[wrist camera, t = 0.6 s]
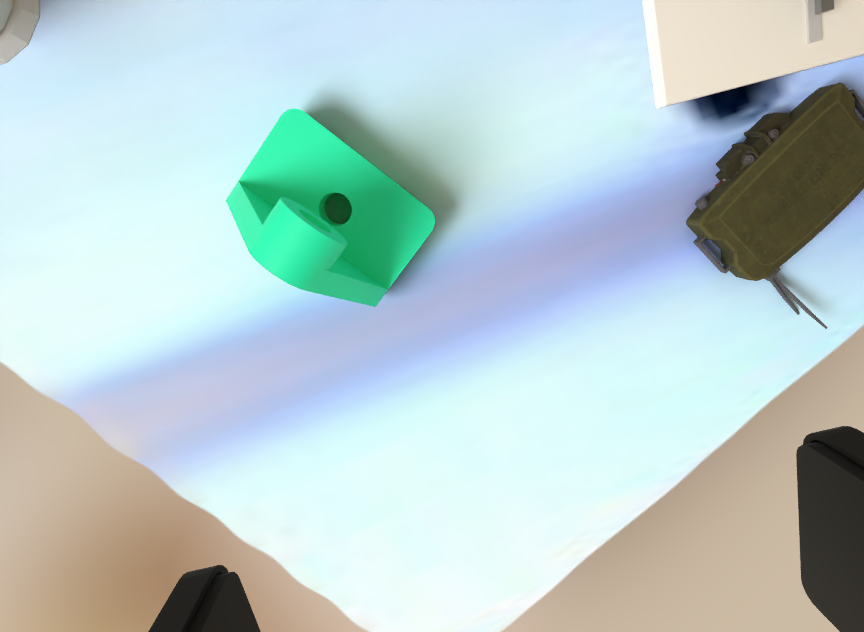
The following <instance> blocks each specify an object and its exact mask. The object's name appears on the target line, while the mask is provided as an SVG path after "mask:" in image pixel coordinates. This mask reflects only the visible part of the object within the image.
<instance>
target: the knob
mask: <svg viewBox="0 0 864 632" xmlns="http://www.w3.org/2000/svg"><path fill="white" fill-rule="evenodd" d="M833 9H834V0H815V15H818V14H821V13H825V12H829V11H831V10H833Z"/></svg>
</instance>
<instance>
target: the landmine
mask: <svg viewBox="0 0 864 632" xmlns="http://www.w3.org/2000/svg"><path fill="white" fill-rule="evenodd" d="M855 107H856V109H857V110H858V111H859V112H860V114H861V115H862V116H863V118H864V103H863V102H862V100H861V99H860V98H859V96H858V95H857V94H856V92H855V91H854V90H848V89H847V88H846V86H845V85H844V84H842V83H838V84H834V85H830V86H826V87H822V88H819V89H818V90H816V91H815V92H814V93H812V94H811V95H810V96H808V97H807V98H806V99H805V100H804V101H803V102H802V103H801V104H799V105H798V106H797V107H796V108H795V109H794V110H793V111H792V112H790V113H789V114H787V113H773V114H768V115H764V116H763V117H762V118H761V119H760V120H759V121H758V122H757V123H756V124H755V125H754V126H753V127H752V128H751V129H750V130H749V131H748V132H745V133H744V135H745V136H746V137H747V139H746V140H745V141H744V142H743V143H740V144H733V145H732V148H731V149H730V150H729V151H728V152H727V153H726V154H725V155H724V156H723V157H722V158H721V159H720V160H719V161H718V162H717V163H716V165H717V166H718V167H719V169H720V171H719V172H718V173H717V174H716V177H717V178H718V179H719V180H720V182H719V183H718V184H717V185H716V187H715V188H714V189H713V190H712V191H711V192H710V193H709V195H708V196H707V197H706V198H705V197H702V198H700V199H699V200H697V201H696V203H695V205H696V206H697V208H696V209H695V210H694V212H693V213H692V214H691V215H690V217H689V218H688V219H687V221H686V224H687V226H688V227H689V228H690V229H691V230H692V231H693V232H694V233H695V234H696V235H697V236H698V238H697V239H696V240H695V241H694V244H695V245H696V246H697V247H698V248H699V249H700V250H701V251H702V252H703V253H704V254H705V255H706V256H707V258H708V259H709V260H710V261H711V262H712V263H713V264H714V265H715V266H716V267H717V268H718V269H719V270H720V271H721V272H723V273H727V272H728V271H730V272H732V273H733V274H734V275H735V276H736V277H739V278H743V279H747V280H754V281H758V280H761V279H764V278H765V279H766V280H767V281H770V282H771V283H772V285H773V286H774V287H775V288H776V290H777V291H778V292H779V294H780V295H781V296H782V297H783V299H784V300H785V301H786V302H787V303H788V304H789V305H790V307H791V308H792V309H793V310H794V311H795V312H796V313H797V314H798V315H799V312H798V310H797V309H796V307H795V306H794V305H793V303H792V302H791V301H790V299H789V298H788V297H787V296H786V294H785V293H784V292H783V290H784V291H785V292H786V293H787V294H788V295H789V296H790V297H791V298H792V299H793V300H794V301H795V302H796V303H797V304H798V305H799V306H800V307H801V308H802V309H803V310H804V311H805V312H806V313H808V314H809V315H810V316H811V317H812V318H814V319H815V320H816V321H817V322H818V323H820V324H821V325H822V326H823V327H824V328H826V329H827V327H826V326H825V325H824V324H823V323H822V322H821V321H820V320H819V319H818V318H817V317H816V316H815V315H814V314H813V313H812V312H811V311H810V310H809V309H808V308H807V307H806V306H805V305H804V304H803V303H802V302H801V301H800V300H799V299H798V298H797V297H796V296H795V295H794V294H793V293H791V292H790V291H789V290H788V289H787V288H786V287H785V286H784V285H783V284H782V283H781V282H780V281H779V280H778V279H777V278H776V277H775V276H776V273H777V272H778V271H779V270H780V268H779V267H780V266H781V265H782V264H783V263H785V262H786V261H787V260H788V259H790V258H791V257H792V256H793V255H794V254H796V253H797V252H798V251H799V250H800V249H801V248H803V247H804V246H805V245H806V244H807V243H808V242H810V241H811V240H812V239H813V238H814V237H815V236H816V235H817V234H818V233H819V232H820V231H822V230H823V229H824V228H825V227H826V226H827V225H828V224H829V223H830V222H831V221H832V220H833V219H834V218H835V217H836V216H837V215H838V214H839V213H840V212H841V211H842V210H843V209H844V208H845V207H846V206H848V205H849V203H850V202H851V201H852V200H853V199H854V198H855V197H856V196H857V195H858V194H859V193H860V192H861V191H862V190H863V189H864V123H863V122H862V121H861V120H860V118H859V117H858V116H857V114H856V113H855ZM705 239H710V240H711V241H712V242H713V243H714V244H715V245H716V246H717V247H718V248H719V249H720V250H721V262H722V263H723V264H724V266H723V267H722V266H721V264H720V263H719V262H718V261H717V260H716V259H715V258H714V257H713V256H712V255H711V254H710V253H709V252H708V250H707V249H706V248H705V247H704V246H703V245H702V244H701V243H702V242H703V241H704V240H705ZM780 287H781V288H782V289H783V290H782V289H781V288H780Z"/></svg>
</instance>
